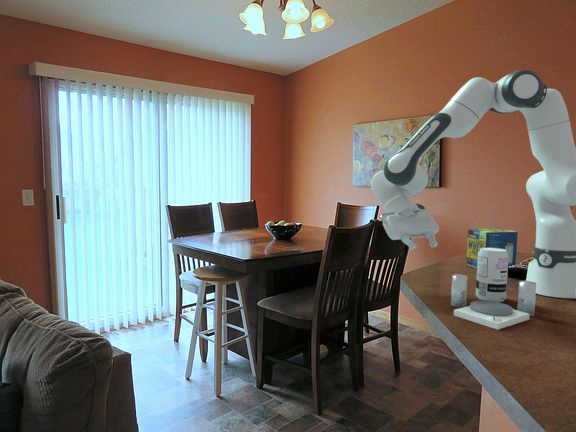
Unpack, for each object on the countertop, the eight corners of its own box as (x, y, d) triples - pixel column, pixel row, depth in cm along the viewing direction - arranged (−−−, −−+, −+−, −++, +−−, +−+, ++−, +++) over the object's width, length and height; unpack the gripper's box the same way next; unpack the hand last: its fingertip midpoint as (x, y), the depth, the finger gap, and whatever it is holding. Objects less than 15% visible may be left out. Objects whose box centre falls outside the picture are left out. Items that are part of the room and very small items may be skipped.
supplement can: (479, 293, 130) (482, 246, 129) (508, 298, 125) (511, 249, 124) (472, 299, 124) (474, 249, 123) (502, 304, 119) (505, 252, 118)
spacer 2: (522, 310, 114) (524, 280, 113) (537, 314, 111) (539, 283, 110) (514, 312, 112) (515, 281, 111) (529, 317, 108) (531, 285, 108)
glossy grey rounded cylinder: (456, 302, 121) (458, 273, 120) (469, 306, 118) (470, 276, 117) (447, 304, 119) (449, 275, 118) (460, 308, 115) (461, 278, 115)
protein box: (465, 266, 172) (467, 228, 171) (496, 264, 176) (498, 228, 175) (483, 271, 162) (485, 232, 161) (516, 269, 166) (518, 231, 165)
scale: (485, 307, 117) (485, 298, 116) (529, 319, 106) (529, 309, 106) (453, 315, 109) (454, 306, 109) (497, 329, 99) (498, 319, 99)
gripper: (383, 207, 127) (407, 243, 120) (428, 205, 138) (452, 238, 131) (372, 220, 131) (395, 256, 124) (417, 217, 142) (439, 250, 135)
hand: (424, 247), depth 127 cm, fingers open, 8 cm apart
